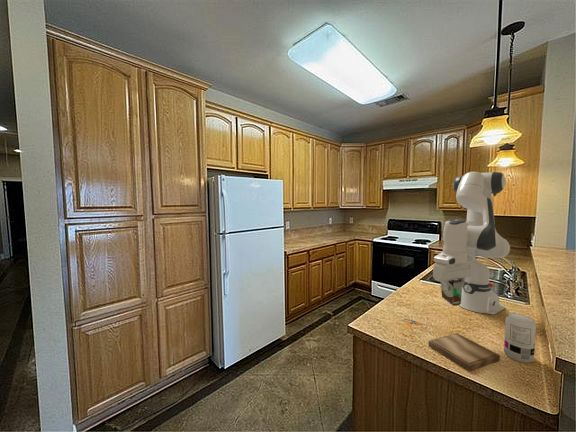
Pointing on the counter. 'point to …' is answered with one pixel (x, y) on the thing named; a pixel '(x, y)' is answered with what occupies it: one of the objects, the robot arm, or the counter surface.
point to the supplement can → (520, 337)
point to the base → (464, 351)
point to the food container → (453, 292)
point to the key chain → (415, 323)
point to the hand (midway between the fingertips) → (453, 288)
